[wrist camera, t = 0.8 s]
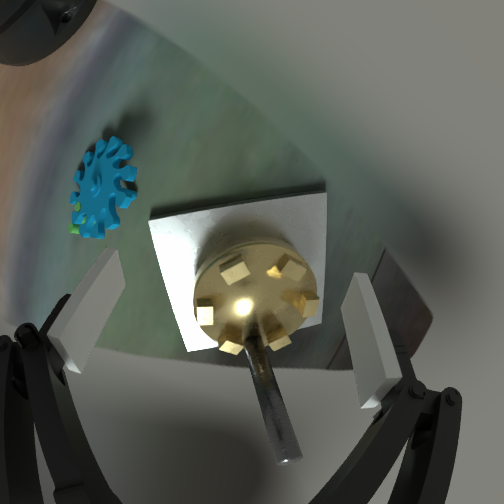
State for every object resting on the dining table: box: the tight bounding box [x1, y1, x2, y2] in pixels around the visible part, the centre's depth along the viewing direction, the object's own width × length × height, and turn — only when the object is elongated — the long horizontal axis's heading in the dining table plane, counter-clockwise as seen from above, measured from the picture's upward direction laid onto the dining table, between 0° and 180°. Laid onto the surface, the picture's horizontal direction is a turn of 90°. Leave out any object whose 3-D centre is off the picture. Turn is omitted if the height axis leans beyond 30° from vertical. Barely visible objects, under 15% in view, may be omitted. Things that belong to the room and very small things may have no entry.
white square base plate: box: [148, 190, 327, 351], centre depth 35 cm, size 20×20×3 cm
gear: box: [68, 136, 137, 239], centre depth 25 cm, size 11×6×10 cm
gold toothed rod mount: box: [192, 236, 320, 465], centre depth 25 cm, size 14×14×18 cm
